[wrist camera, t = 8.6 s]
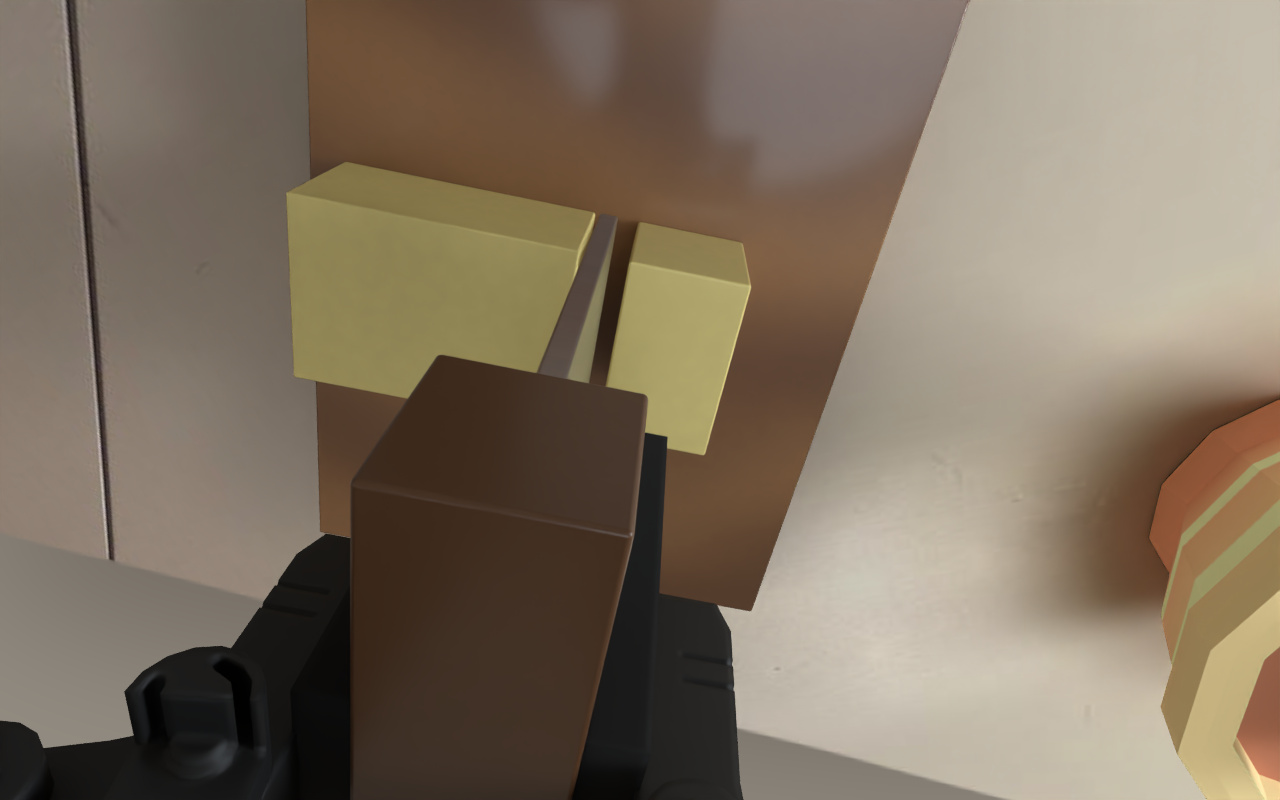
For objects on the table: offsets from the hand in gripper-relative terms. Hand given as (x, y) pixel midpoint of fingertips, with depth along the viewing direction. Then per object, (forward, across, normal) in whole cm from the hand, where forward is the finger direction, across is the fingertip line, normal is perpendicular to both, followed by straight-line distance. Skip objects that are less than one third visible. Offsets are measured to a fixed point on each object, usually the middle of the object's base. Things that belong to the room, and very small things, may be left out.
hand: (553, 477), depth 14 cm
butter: (+9, -4, 0) cm, 10 cm away
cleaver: (+4, 0, 0) cm, 4 cm away
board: (+11, -1, 0) cm, 11 cm away
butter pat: (+9, +2, 0) cm, 9 cm away
